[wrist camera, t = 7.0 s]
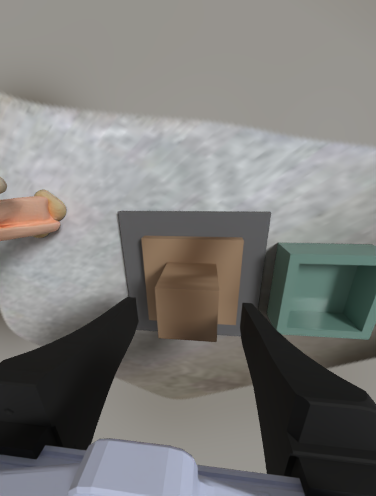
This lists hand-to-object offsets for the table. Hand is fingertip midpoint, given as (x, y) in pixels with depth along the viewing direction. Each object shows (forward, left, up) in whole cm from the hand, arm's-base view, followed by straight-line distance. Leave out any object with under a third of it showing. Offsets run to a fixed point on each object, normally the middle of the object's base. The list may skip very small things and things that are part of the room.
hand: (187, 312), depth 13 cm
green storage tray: (-10, 0, -5) cm, 11 cm away
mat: (0, 0, -5) cm, 5 cm away
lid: (0, 0, -4) cm, 4 cm away
